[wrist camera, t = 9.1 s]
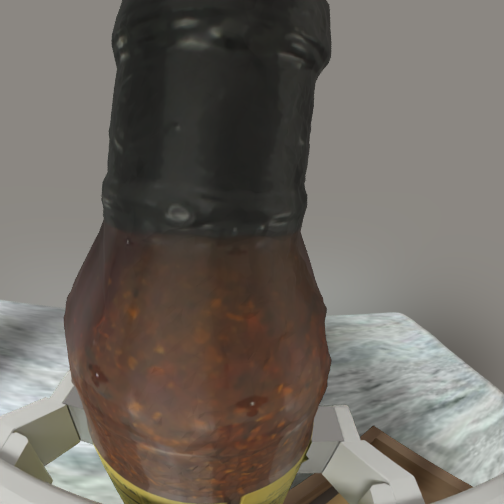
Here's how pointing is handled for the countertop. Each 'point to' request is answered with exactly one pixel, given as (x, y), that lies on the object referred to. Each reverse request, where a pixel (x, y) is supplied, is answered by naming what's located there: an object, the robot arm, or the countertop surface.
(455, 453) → the countertop surface
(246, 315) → the sauce bottle
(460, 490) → the corner arena
